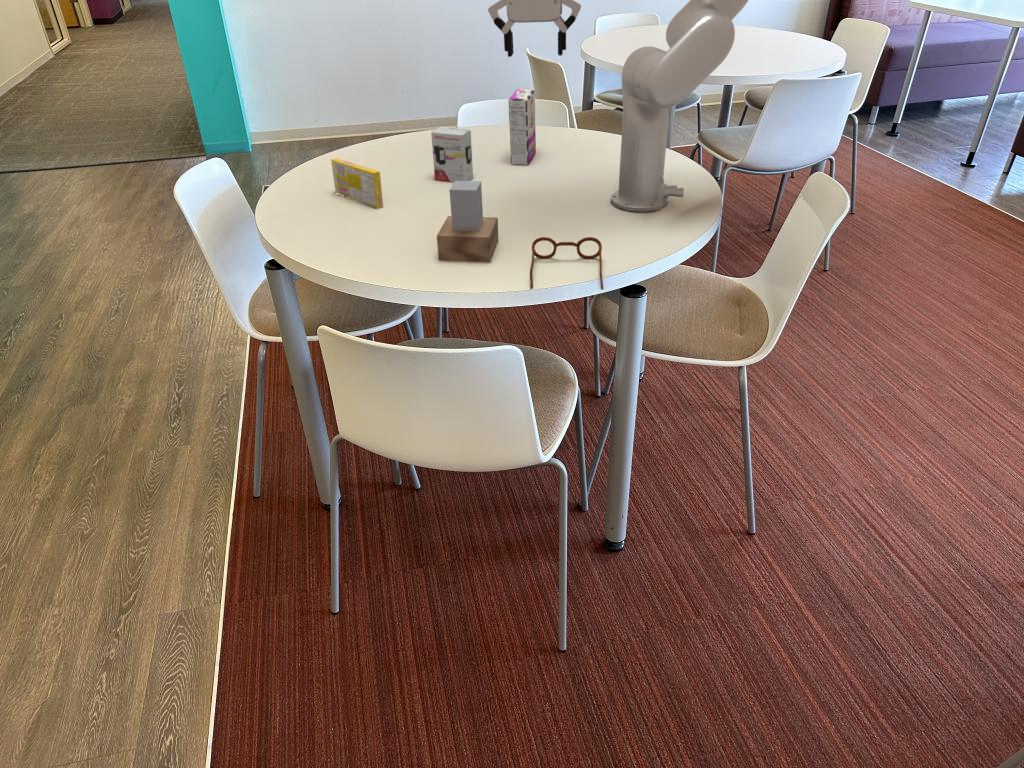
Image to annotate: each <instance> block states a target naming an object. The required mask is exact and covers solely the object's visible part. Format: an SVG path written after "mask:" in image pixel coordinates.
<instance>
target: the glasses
mask: <svg viewBox="0 0 1024 768" xmlns="http://www.w3.org/2000/svg"><path fill="white" fill-rule="evenodd" d="M542 241H546V242H549V243H550V244H552V246H553V250H552V252H551V253H550V254H545V255H544V254H543V255H542V254H539V253H537V251H536V248H535V247H536V245H537V243H539V242H542ZM590 241H591V242H594V243H596V244H597V246H598V250H597V252H596V253H595V254H591V255H585V254H584V253H582V252H581V249H580V247H581V245H582V244H583V243H585V242H590ZM563 246H564V247H565V246H569V247H570V246H571V247H576V252H577V254H578V256H579V257H580V258H581V259H585V260H593V259H596V258H598V257H599V258H598V259H599V260H598V261H599V280H600V288H601V289H600V290H604V283H603V273H602V269H603V268H602V266H603V264H602V262H603V261H602V260H603V259H602V250H603V247H602V242H601V240H599V239H598V238H595V237H592V236H588V237H583V238H581V239H580V240H579V241H577V242H573V241H560V242H556V241H555V240H554V239H553V238H551V237H547V236H541V237H538V238H537V237H536V239H534V240H533V242H532V243H531V263H530V269H529V282H530V283H529V286H530V289H531V290H532V289H533V288H534V281H533V279H534V278H533V271H534V266H535V265H534V264H535V257H536V258H538V259H541V260H543V259H545V260H548V259H552V258H553V257H554V256H555V255H556V253H557V250H558V249H557V248H558V247H563Z"/></svg>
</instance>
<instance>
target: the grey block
mask: <svg viewBox="0 0 1024 768" xmlns="http://www.w3.org/2000/svg"><path fill="white" fill-rule="evenodd" d="M452 183H453V184H451V186H450V188H449V201H450V202H449V203H450V213H451V214H450V216H452V229H453V231H472V232H479V230H480V228H481V225H482V223H483V217H484V214H483V213H484V210H483V208H484V207H483V193H482V192H483V191H482V190H483V189H482V180H481V181H479V180H478V181H477V180H470V181H455V182H452Z"/></svg>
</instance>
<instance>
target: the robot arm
mask: <svg viewBox="0 0 1024 768" xmlns="http://www.w3.org/2000/svg"><path fill="white" fill-rule="evenodd" d="M748 2H749V0H689V1H688V2H687V3H686V4H685V5H684V6H683V7H682V8H681V9H680V10H679V11H678V12H676V14H675V15H674V16H673V18H672V19H671V20H670V22H669V23H668V25H667V28H666V32H665V41H666V43H667V45H668V47H669V49H668V50H667V51H665V50H663V49H661V48H658V47H655V46H642V47H638V48H637V49H635V50H634V51H632V52H631V54H629V56H627V58H626V60H625V62H624V65H623V66H622V71H621V72H622V73H621V92H622V126H621V127H622V128H621V129H622V130H621V142H620V157H619V159H620V161H619V173H618V175H619V176H618V190H616V191H615V192H613V193H612V194H611V197H610V203H611V204H612V205H613V206H614V207H616V208H618V209H621V210H624V211H630V212H635V213H636V212H637V213H639V212H642V213H643V212H644V213H645V212H654V211H659V210H661V209H663V208H665V207H667V206H668V204H669V197H674V198H684V191H685V190H684V187H678V185H675V184H674V185H673V184H672V185H668V184H666V183H665V178H664V173H665V164H666V163H665V162H666V152H667V141H668V132H669V122H670V120H669V119H670V118H669V117H670V110H669V109H670V108H672V107H675V106H677V105H678V104H680V103H681V102H683V101H684V100H686V99H687V98H688V97H689V96H690V94H692V93H693V92H694V91H695V90H696V89H697V88H698V87H699V86H700V85H701V84H702V83H704V81H706V79H707V78H708V77H709V76H711V74H713V72H715V70H716V69H717V68H719V67H720V66H721V64H722V63H723V62H724V61H725V60H726V58H727V57H728V55H729V53H730V51H731V50H732V48H733V44H734V42H735V35H736V33H735V25H734V22H733V20H734V19H735V17H737V15H739V13H740V12H741V11H743V8H744V7H745V6H747V3H748ZM563 5H564V6H566V7H567V8H569V9H571V13H570V15H568V16H569V17H568V18H567V19H565V20H564V19H563V17H562V16H561V15H562V14H563ZM505 6H506V16H507V19H508V20H507V21H506V22H505V21H504V20H503V19H502V18H501V17H500V15H499V13H498V11H500V10H501V9H503V8H504V7H505ZM581 8H582V5H581V3H579V2H577V1H575V0H499V1H497V2H495V3H494V4H492V5H491V6H489V7H488V9H487V11H488V13H489V15H490V17H491V19H492V21H493V23H494V25H495V26H496V27H497V28H498V30H500V31H501V32H502V34H503V46H504V52H507V57H508V58H509V57H510V58H511V57H512V56H513V55H514V35H513V32H512V27H513V26H514V25H515V23H519V24H520V23H524V24H525V23H549V22H554V24H555V25H556V26H557V28H558V32H557V55H558V56H563V52H564V51H567V30H569V28H570V27H571V26H572V25H573V24H574V22H575V21H576V19H577V17H578V15H579V13H580V11H581Z"/></svg>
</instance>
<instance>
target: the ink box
mask: <svg viewBox="0 0 1024 768" xmlns="http://www.w3.org/2000/svg"><path fill="white" fill-rule="evenodd" d="M430 134H431V145H432V146H431V147H432V158H433V160H432V161H433V172H434V180H435V181H437V182H438V181H440V182H447V183H454V182H455V181H472V179H474V168H473V147H472V146H473V145H472V131H471V129H469V128H461V127H452V126H451V127H450V126H439V127H438V128H436V129H434V130H433V131H431V133H430Z"/></svg>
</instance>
